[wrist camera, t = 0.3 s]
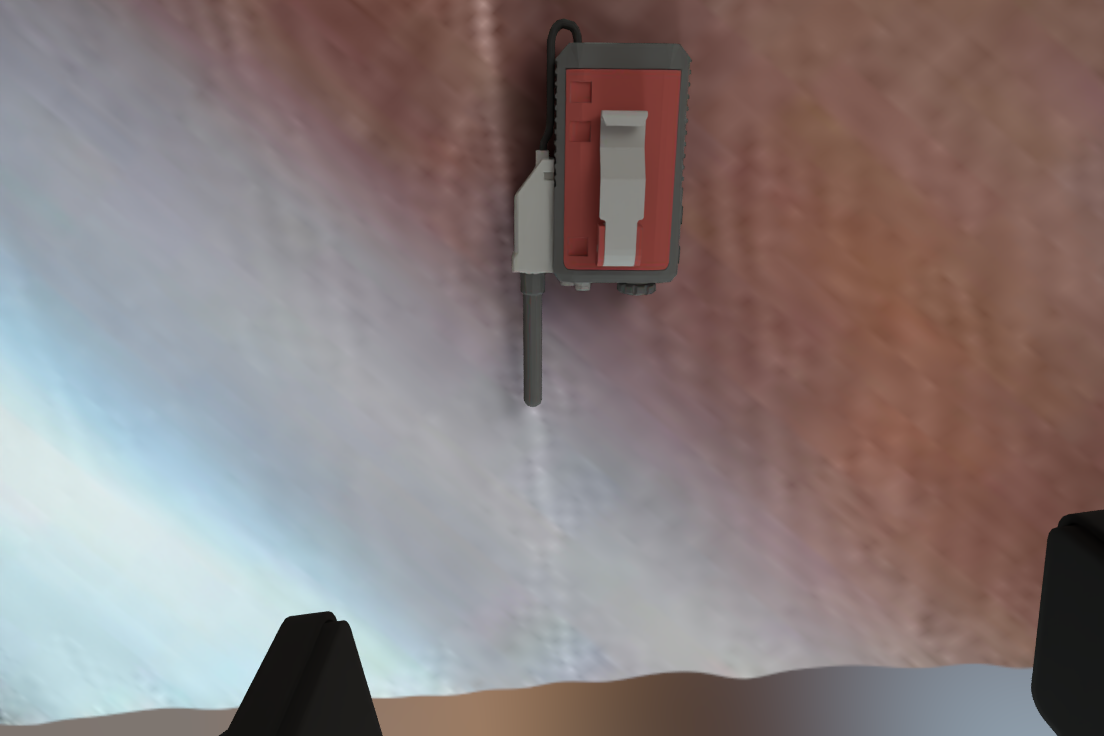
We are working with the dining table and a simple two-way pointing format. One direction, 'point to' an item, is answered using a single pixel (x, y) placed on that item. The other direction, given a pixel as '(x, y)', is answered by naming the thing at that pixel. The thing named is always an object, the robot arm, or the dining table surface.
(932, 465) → the dining table surface
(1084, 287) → the dining table surface
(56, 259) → the dining table surface
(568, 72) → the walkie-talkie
